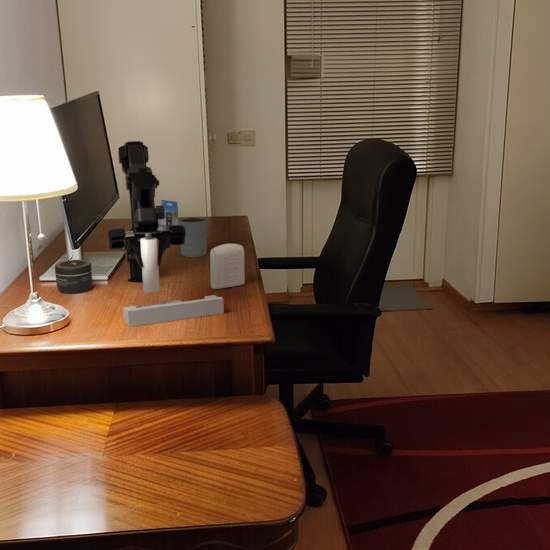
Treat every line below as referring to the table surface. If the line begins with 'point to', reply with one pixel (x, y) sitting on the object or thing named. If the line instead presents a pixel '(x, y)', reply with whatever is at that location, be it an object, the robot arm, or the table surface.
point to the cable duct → (173, 311)
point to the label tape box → (168, 215)
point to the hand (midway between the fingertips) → (150, 265)
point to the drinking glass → (194, 236)
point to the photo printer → (227, 266)
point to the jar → (73, 276)
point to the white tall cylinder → (150, 263)
